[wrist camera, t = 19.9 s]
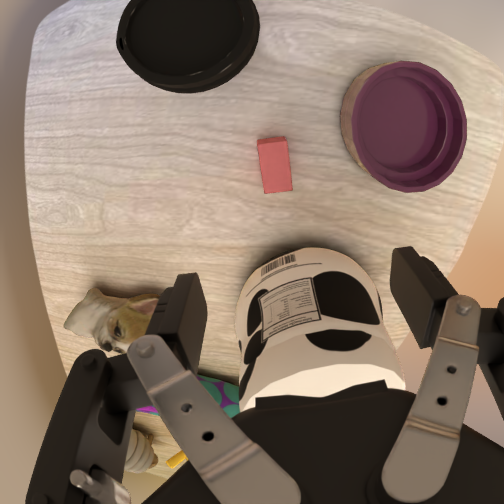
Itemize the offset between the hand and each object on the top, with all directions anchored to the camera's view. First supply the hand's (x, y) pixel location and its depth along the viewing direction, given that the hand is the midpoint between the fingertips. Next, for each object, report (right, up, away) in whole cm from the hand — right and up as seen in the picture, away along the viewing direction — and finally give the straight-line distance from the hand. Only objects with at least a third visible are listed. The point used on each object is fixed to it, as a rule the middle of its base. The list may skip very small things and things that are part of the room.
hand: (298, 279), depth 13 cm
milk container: (+5, -5, +28) cm, 29 cm away
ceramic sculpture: (-19, -7, +29) cm, 36 cm away
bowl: (+14, +15, +17) cm, 26 cm away
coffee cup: (-5, +21, +14) cm, 26 cm away
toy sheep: (-29, -39, +47) cm, 68 cm away
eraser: (0, +10, +19) cm, 22 cm away
